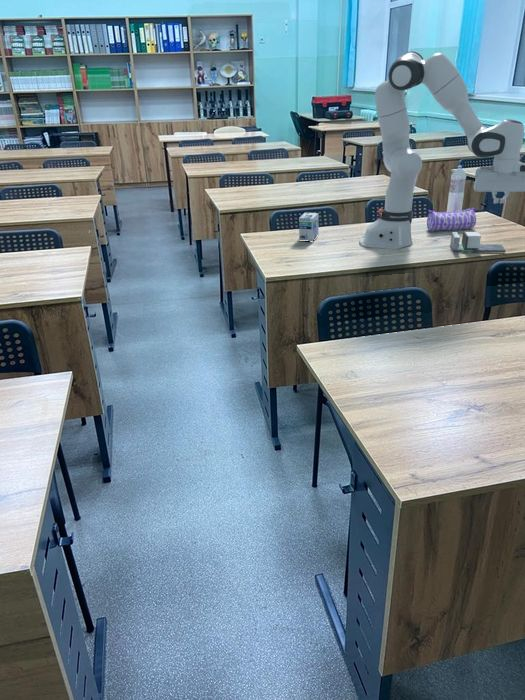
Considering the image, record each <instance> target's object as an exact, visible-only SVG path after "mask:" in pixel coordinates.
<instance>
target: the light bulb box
mask: <svg viewBox="0 0 525 700" xmlns="http://www.w3.org/2000/svg"><path fill="white" fill-rule="evenodd" d="M319 217H320V215H319V213H318V212H304V213H303V214H301V216H300V217H299V218H298V239H299V240H308V241H313V240H314V239H315V238H316V237H317V235H318V236H319V225H320V224H319V221H320V220H319ZM317 238H318V237H317ZM299 240H298V241H299Z"/></svg>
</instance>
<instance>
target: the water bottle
mask: <svg viewBox="0 0 525 700" xmlns="http://www.w3.org/2000/svg"><path fill="white" fill-rule="evenodd" d="M462 168H463V166H462V165H457V169H455V170H454V171H453V172H452V173H451V176H450V185H449V191H448V198H447V199H448V200H447V207H446V212H454V211H462V210H463V209H462V208H463V202H464V195H465V185H466V179H467V174H466V172H465V171H464V169H462Z"/></svg>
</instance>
